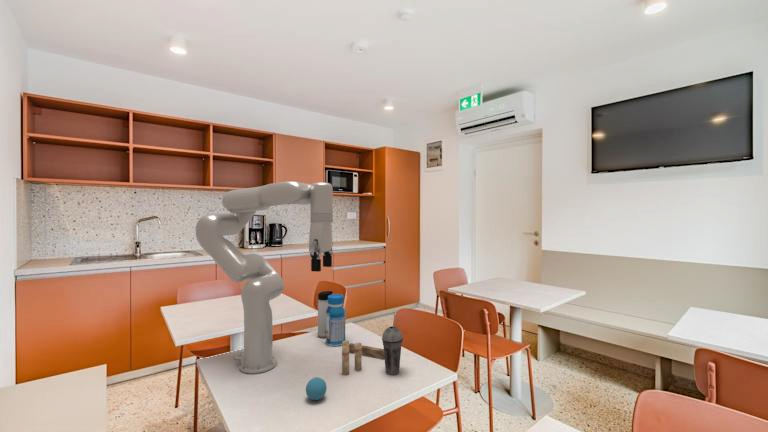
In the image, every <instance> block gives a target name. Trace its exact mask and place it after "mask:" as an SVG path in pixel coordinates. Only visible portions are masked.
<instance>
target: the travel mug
mask: <svg viewBox="0 0 768 432" xmlns="http://www.w3.org/2000/svg"><path fill="white" fill-rule="evenodd" d="M332 294H334V293H333V291H332V290H326V291H325V290H323V291H320V292H319V293H317V337H318V338H320V339H326V316H327V314H326V310H327V308H328V306H329V304H328V296H329V295H332Z"/></svg>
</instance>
